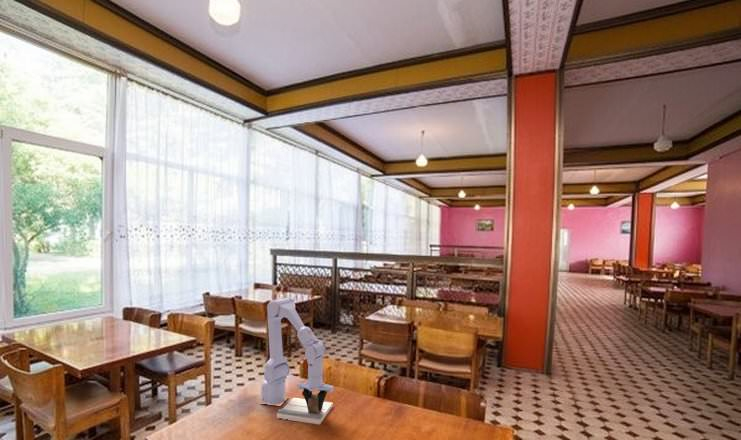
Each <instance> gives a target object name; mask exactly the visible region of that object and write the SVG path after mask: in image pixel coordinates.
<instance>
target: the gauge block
mask: <svg viewBox="0 0 741 440" xmlns="http://www.w3.org/2000/svg"><path fill="white" fill-rule="evenodd" d="M318 407H319V401H318V394H314V393H312V395H311V396H310V397H309V399H308V413H314V414H320V412H321V411H322V410H321V411H319V408H318Z"/></svg>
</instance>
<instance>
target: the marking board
mask: <svg viewBox="0 0 741 440" xmlns="http://www.w3.org/2000/svg"><path fill="white" fill-rule="evenodd" d="M333 406H334V402H331V401H324V402H323V407H322V411H321V412H320V414H314V413H308V407H307V403H306V400H305V398H300V397H299V398H298V397H292V398H291V399H290V400H289V402H288V403H286V404H285V405H284V406H283V408H279V409H278V410H277V413H276V419H279V418H282V419H281V420H286V419H288V420H287V421H293V422H300V423H306V424H314V425H321V423H322V422H323V421H324V420H325V418H326V417H327V415H328V414H329V412H330V411H331V410H332V409H333Z"/></svg>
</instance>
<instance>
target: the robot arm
mask: <svg viewBox="0 0 741 440" xmlns="http://www.w3.org/2000/svg"><path fill="white" fill-rule="evenodd" d="M266 306H267V307H266V310H267V325H268V328H267V330H268V346H269V347H268V348H269V359H268V360H267V361H266V362H265V365H264V372H263V377H264V378H263V379H264V380H263V382H262V385H261V399H260V400H261V402H266V403H270V404H280V403H282V402H284V401H285V397H286V380H287V377H288V376H289V375H290V371H291V369H290V366H289V362H288V358H286V357H284V349H283V339H282V338H283V336H282V322H281V321H282V319H283V318H286V319H287V320H288V321H289V322H290V324H291V325H292V326H293V327H294V328H295V330H296V331H297V334H296V336H297V338H298V340H299V341H300V343H301V345H302V346H303V347H304V349H305V350H304V353H305V355H304V356H305V358H306V362H307V365H308V366H307V381H305V382H301V381H300V382H298V383H297V385H296V386H297V387H296V388H297V390H303V391H302V393H301V395H302V396H303V399H305V400H306V403H307V407H308V399H309V397H310V396H311V395H312V394H313V392H314V391H317V392H318V393H317V395H318V401H319V407H318V408H319V411H321V410H322V407H323V402H325V398H326V396H327V395H328V393H329V394H332V393H333V392H334V386H333V385H330V384H326V383H324V381H323V380H324V379H323V376H324V375H323V374H324V373H323V369H324V368H323V367H324V366H323V365H324V356H323V355H325V354H326V353H327V352H326V351H327V347H326V344H325V342H324V341H322V340H320V339H319V338H317V337H316V336H315V333H314V332H313V331H312V329H311V328H310V327H309V326H305V324H304V323H303V321H302V319H301V317H300V315H299V314H298V311H297V310H296V303H295V302H294V300H293V299H292V298H291V297H285V298H281V299H275V300H273V299H272V300H270V301H269V303H268V304H267V305H266ZM264 399H265V400H264ZM261 402H260V403H261Z"/></svg>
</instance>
